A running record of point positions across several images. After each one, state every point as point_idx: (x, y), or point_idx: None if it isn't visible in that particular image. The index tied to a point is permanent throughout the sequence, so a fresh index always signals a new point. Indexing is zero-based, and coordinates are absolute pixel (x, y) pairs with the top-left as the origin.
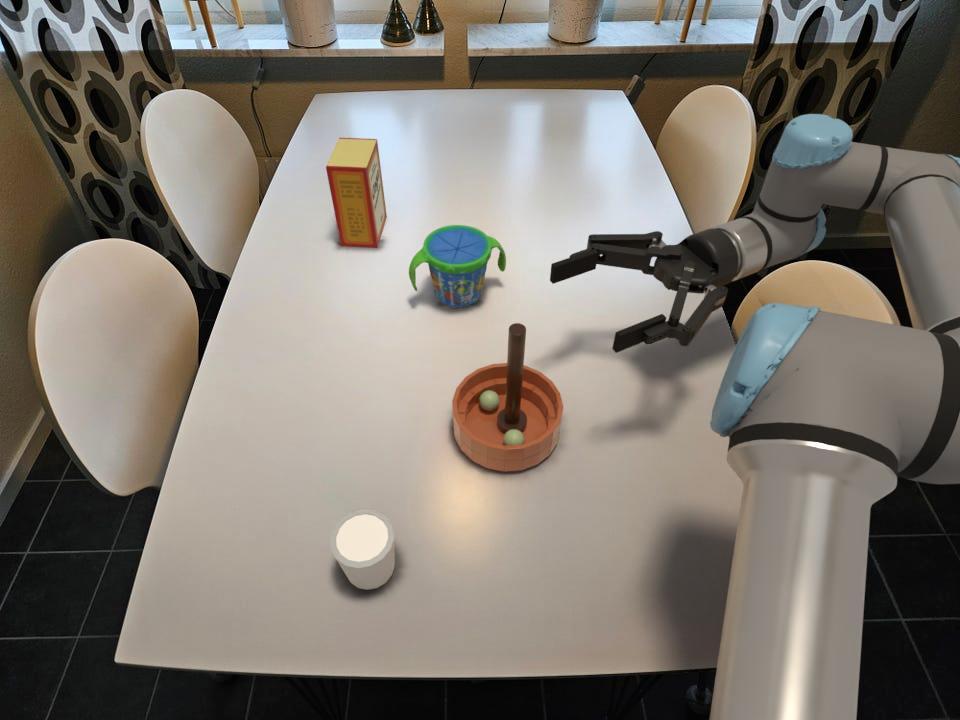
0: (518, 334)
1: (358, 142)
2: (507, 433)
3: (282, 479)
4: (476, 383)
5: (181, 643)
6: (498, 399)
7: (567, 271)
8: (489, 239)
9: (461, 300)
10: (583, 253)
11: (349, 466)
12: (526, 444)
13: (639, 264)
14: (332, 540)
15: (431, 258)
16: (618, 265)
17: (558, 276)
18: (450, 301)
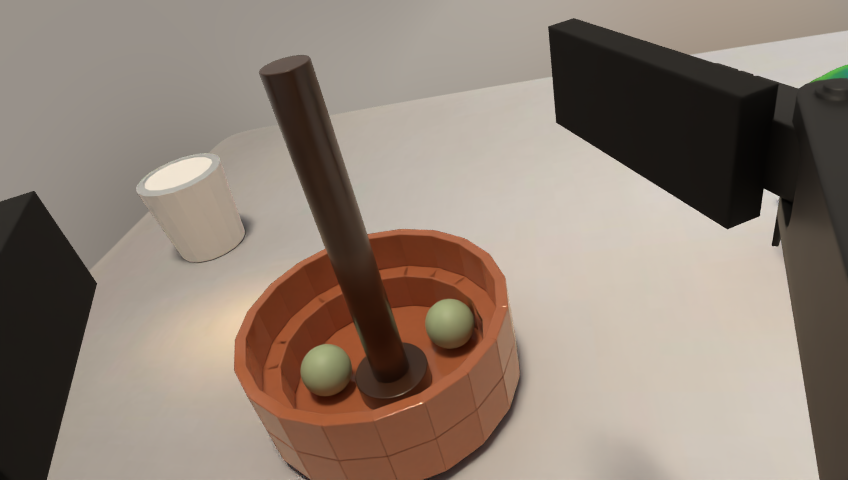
0: (262, 68)
1: None
2: (328, 344)
3: (370, 158)
4: (478, 280)
5: (219, 153)
6: (440, 332)
7: (596, 102)
8: None
9: None
10: (696, 59)
11: (371, 200)
12: (240, 344)
13: (831, 436)
14: (192, 155)
15: (825, 74)
16: (799, 318)
17: (568, 99)
18: None
